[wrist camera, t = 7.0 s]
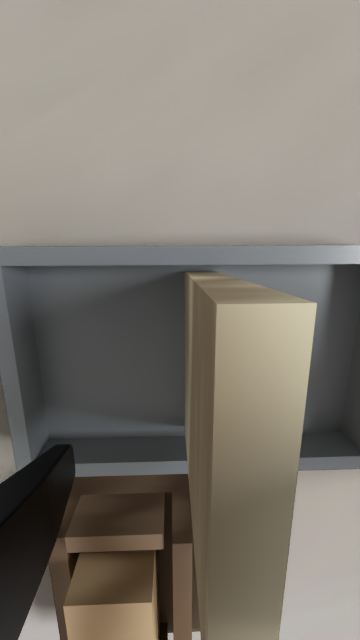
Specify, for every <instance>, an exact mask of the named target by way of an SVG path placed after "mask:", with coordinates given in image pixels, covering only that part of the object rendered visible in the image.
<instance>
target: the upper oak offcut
mask: <svg viewBox="0 0 360 640" xmlns="http://www.w3.org/2000/svg"><path fill="white" fill-rule="evenodd" d="M63 609H64V616H65V623H66V630H67V637H68V640H158V630H157V601H156V571H155V551H140V552H113V553H86V554H79V557H78V560H77V563H76V566H75V570H74V573H73V576H72V579H71V583H70V586H69V589H68V592H67V595H66V599H65V602H64V605H63Z"/></svg>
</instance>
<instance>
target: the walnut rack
mask: <svg viewBox="0 0 360 640" xmlns="http://www.w3.org/2000/svg"><path fill="white" fill-rule="evenodd" d="M132 550H158V563H159V596H160V639H159V640H168V633H174V640H192V632H195V631H200V619H199V606H198V593H197V580H196V567H195V555H194V542H193V529H192V516H191V503H190V490H189V477H188V474H162V475H127V476H92V477H75V478H74V482H73V485H72V489H71V492H70V496H69V499H68V503H67V506H66V510H65V513H64V516H63V520H62V523H61V527H60V530H59V534H58V537H57V540H56V543H55V546H54V548H53V551H52V554H51V556H50V559H49V569H50V575H51V582H52V588H53V595H54V602H55V608H56V615H57V621H58V628H59V634H60V640H68V637H67V630H66V623H65V616H64V609H63V605H64V602H65V599H66V595H67V592H68V589H69V586H70V583H71V579H72V576H73V573H74V570H75V566H76V563H77V560H78V557H79V554H80V552H105V551H132Z"/></svg>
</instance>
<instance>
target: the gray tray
mask: <svg viewBox="0 0 360 640" xmlns="http://www.w3.org/2000/svg"><path fill="white" fill-rule="evenodd" d="M185 271H216V272H220V273H223V274H226V275H229V276H232V277H235V278H239V279H242V280H245V281H248V282H251V283H255V284H258V285H261V286H264V287H267V288H270V289H274V290H277V291H280V292H283V293H286V294H289V295H293V296H296V297H299V298H302V299H305V300H309V301H312V302H315V303H317V309H316V317H315V326H314V335H313V344H312V352H311V361H310V370H309V379H308V387H307V396H306V405H305V414H304V422H303V431H302V440H301V449H300V457H299V466H298V471H302V470H337V469H360V245H297V246H25V247H0V375H1V381H2V387H3V393H4V399H5V405H6V411H7V416H8V422H9V428H10V434H11V440H12V446H13V452H14V457H15V463H16V469H17V472H18V471H19V470H20V469H22V468H23V467H25V466H26V465H27V464H29V463H30V462H32V461H33V460H34V459H36V458H37V457H39V456H40V455H41V454H43V453H44V452H46V451H47V450H49V449H50V448H51V447H53V446H54V445H56V444H71V445H72V446H73V451H74V460H75V477H92V476H127V475H162V474H188V464H187V451H186V438H185Z"/></svg>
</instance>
